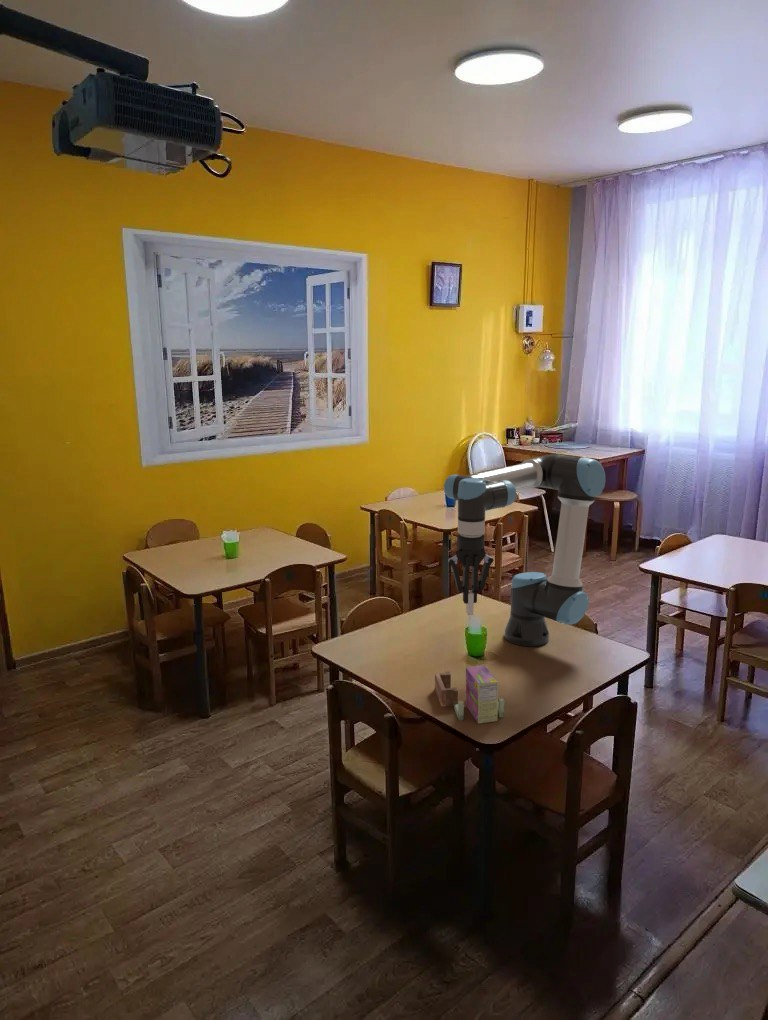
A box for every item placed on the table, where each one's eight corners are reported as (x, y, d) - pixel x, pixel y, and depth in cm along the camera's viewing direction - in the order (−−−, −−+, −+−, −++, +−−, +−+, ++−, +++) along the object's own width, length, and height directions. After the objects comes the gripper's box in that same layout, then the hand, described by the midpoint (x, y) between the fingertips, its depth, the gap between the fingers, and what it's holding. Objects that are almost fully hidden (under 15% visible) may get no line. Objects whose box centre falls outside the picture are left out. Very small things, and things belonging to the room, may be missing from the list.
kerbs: (497, 706, 193) (498, 690, 192) (503, 717, 188) (504, 700, 186) (454, 709, 192) (454, 692, 191) (459, 720, 186) (459, 703, 185)
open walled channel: (485, 684, 206) (486, 669, 205) (496, 704, 194) (497, 688, 193) (434, 687, 204) (434, 672, 203) (442, 708, 193) (442, 691, 192)
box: (465, 705, 194) (465, 666, 192) (484, 703, 195) (485, 664, 193) (477, 724, 184) (478, 684, 182) (497, 722, 185) (498, 681, 183)
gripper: (490, 529, 196) (488, 607, 201) (445, 531, 195) (444, 609, 200) (497, 536, 189) (495, 617, 194) (450, 538, 187) (449, 619, 193)
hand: (469, 613), depth 197 cm, fingers closed
